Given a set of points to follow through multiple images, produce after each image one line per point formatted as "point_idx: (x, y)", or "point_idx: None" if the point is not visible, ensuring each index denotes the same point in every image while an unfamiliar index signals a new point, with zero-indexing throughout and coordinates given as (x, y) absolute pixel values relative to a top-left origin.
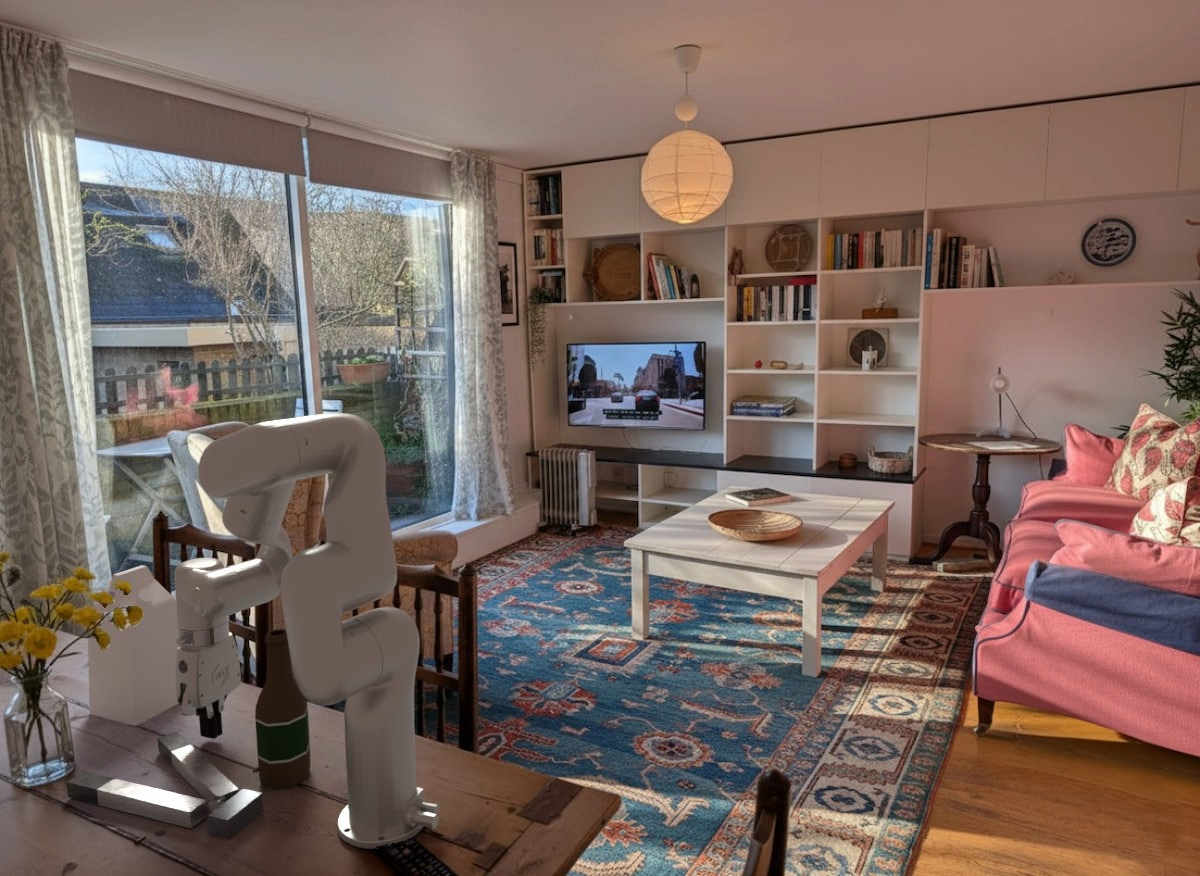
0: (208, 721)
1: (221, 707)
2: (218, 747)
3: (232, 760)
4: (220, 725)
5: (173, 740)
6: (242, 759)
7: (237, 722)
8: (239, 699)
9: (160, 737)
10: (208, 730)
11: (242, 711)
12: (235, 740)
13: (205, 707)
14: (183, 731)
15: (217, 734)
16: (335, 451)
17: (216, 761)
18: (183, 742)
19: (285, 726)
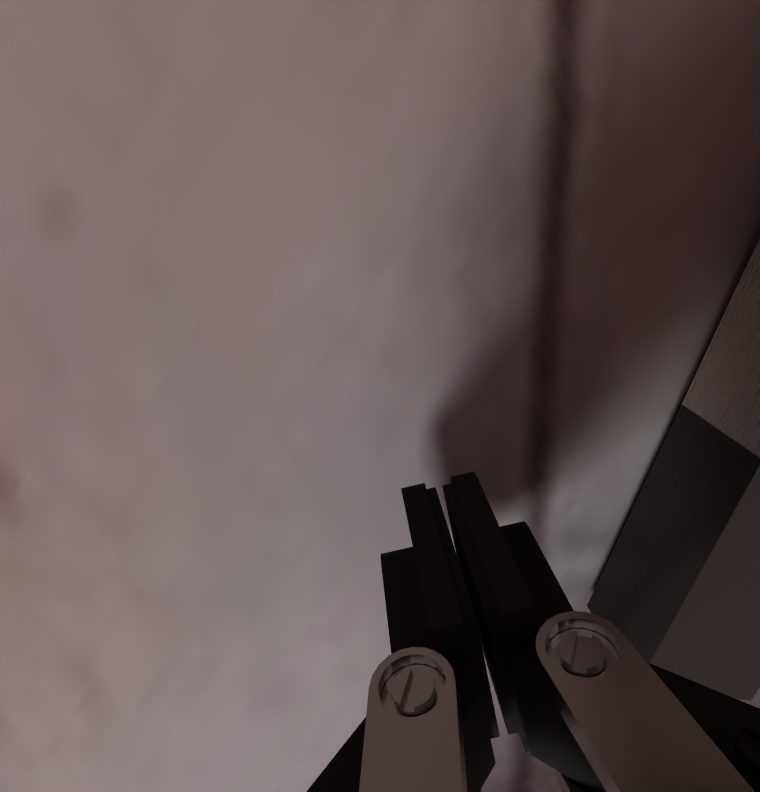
0: (553, 603)
1: (402, 695)
2: (471, 403)
3: (559, 129)
4: (427, 533)
5: (750, 604)
6: (511, 58)
7: (186, 583)
8: (27, 785)
9: (741, 693)
10: (530, 540)
11: (85, 670)
12: (341, 390)
13: (722, 767)
14: None
15: (457, 484)
16: None
17: (621, 236)
18: (755, 527)
19: None
